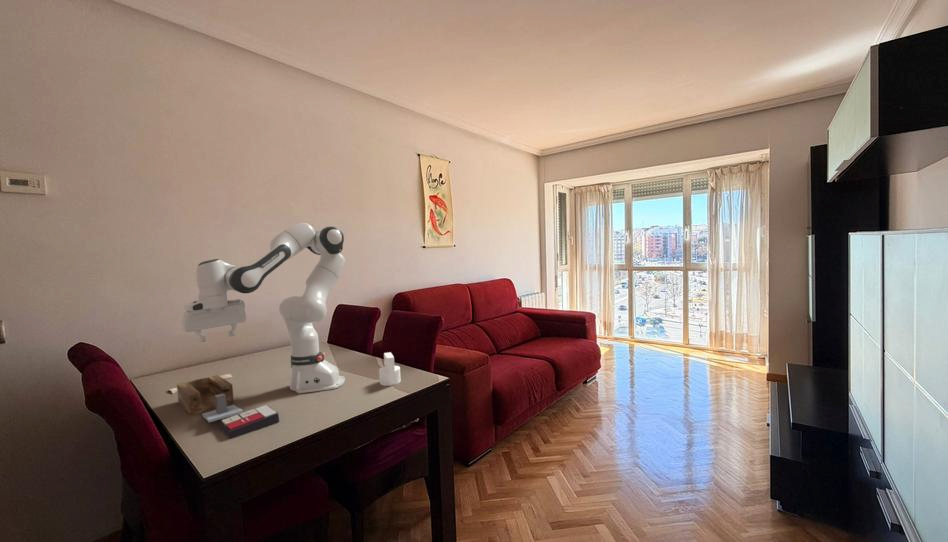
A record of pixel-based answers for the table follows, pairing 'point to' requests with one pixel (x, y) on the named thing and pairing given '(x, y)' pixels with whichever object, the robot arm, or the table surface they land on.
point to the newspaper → (220, 376)
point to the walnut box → (203, 393)
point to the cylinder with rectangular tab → (389, 371)
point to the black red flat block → (249, 421)
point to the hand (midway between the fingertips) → (217, 338)
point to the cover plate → (220, 416)
